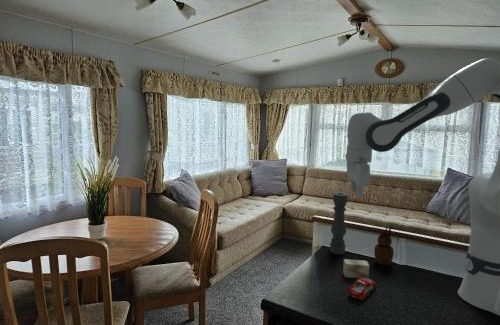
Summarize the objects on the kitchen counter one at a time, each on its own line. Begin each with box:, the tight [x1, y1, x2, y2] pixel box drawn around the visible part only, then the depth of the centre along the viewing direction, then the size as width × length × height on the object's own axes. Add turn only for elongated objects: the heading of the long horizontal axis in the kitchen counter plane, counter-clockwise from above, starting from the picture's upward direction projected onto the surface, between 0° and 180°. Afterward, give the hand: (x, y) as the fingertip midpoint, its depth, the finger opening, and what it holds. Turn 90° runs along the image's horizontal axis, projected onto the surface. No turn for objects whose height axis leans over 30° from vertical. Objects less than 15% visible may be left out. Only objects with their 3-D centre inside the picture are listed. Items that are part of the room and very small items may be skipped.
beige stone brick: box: [342, 258, 370, 279], centre depth 109 cm, size 8×4×5 cm, turn 83°
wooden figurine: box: [374, 226, 394, 266], centre depth 119 cm, size 7×6×15 cm
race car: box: [347, 278, 376, 301], centre depth 99 cm, size 13×5×4 cm, turn 138°
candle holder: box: [329, 192, 349, 256], centre depth 129 cm, size 6×6×25 cm
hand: (356, 193), depth 115 cm, fingers open, 6 cm apart
